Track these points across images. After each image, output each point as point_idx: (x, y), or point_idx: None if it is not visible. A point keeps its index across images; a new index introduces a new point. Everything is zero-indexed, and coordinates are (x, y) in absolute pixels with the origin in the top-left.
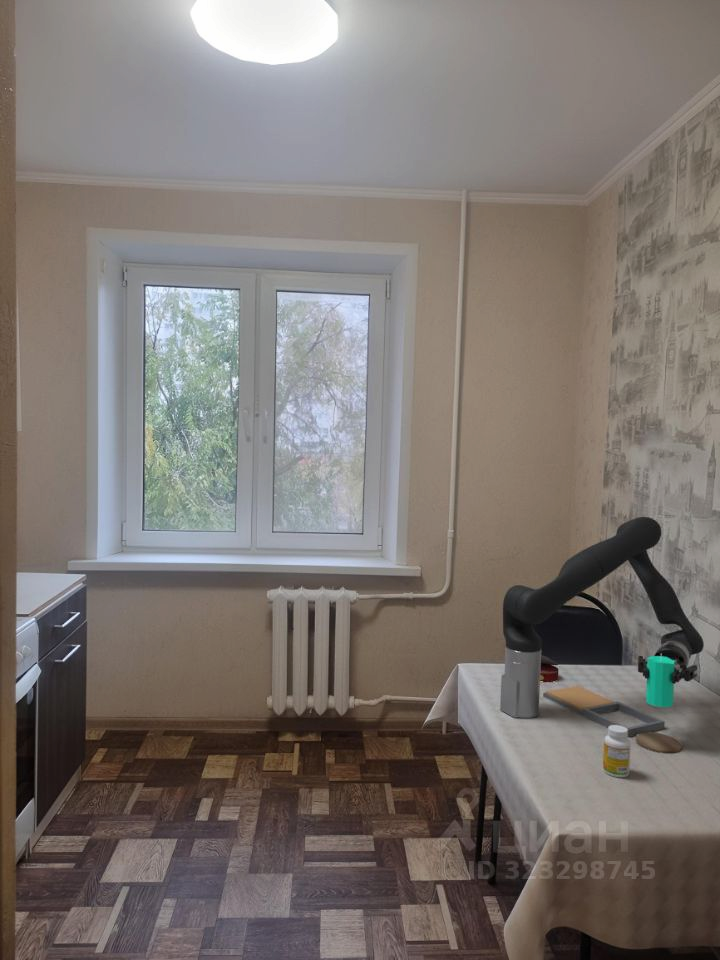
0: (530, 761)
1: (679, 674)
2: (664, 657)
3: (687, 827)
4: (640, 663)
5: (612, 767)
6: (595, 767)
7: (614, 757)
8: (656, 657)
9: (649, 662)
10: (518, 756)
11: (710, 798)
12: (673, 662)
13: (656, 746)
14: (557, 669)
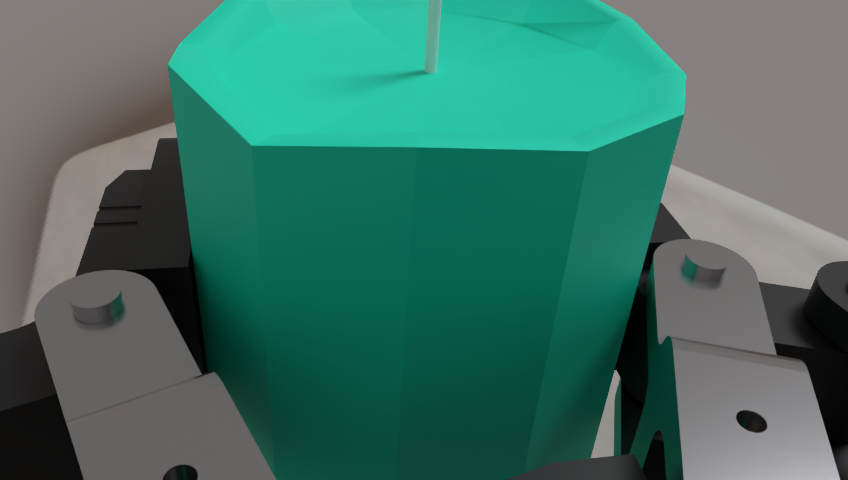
0: (682, 202)
1: (98, 234)
2: (446, 143)
3: (129, 146)
4: (837, 274)
5: None
6: None
7: None
8: (604, 132)
9: (555, 30)
10: (736, 208)
11: (33, 295)
12: (189, 49)
13: None
14: None
